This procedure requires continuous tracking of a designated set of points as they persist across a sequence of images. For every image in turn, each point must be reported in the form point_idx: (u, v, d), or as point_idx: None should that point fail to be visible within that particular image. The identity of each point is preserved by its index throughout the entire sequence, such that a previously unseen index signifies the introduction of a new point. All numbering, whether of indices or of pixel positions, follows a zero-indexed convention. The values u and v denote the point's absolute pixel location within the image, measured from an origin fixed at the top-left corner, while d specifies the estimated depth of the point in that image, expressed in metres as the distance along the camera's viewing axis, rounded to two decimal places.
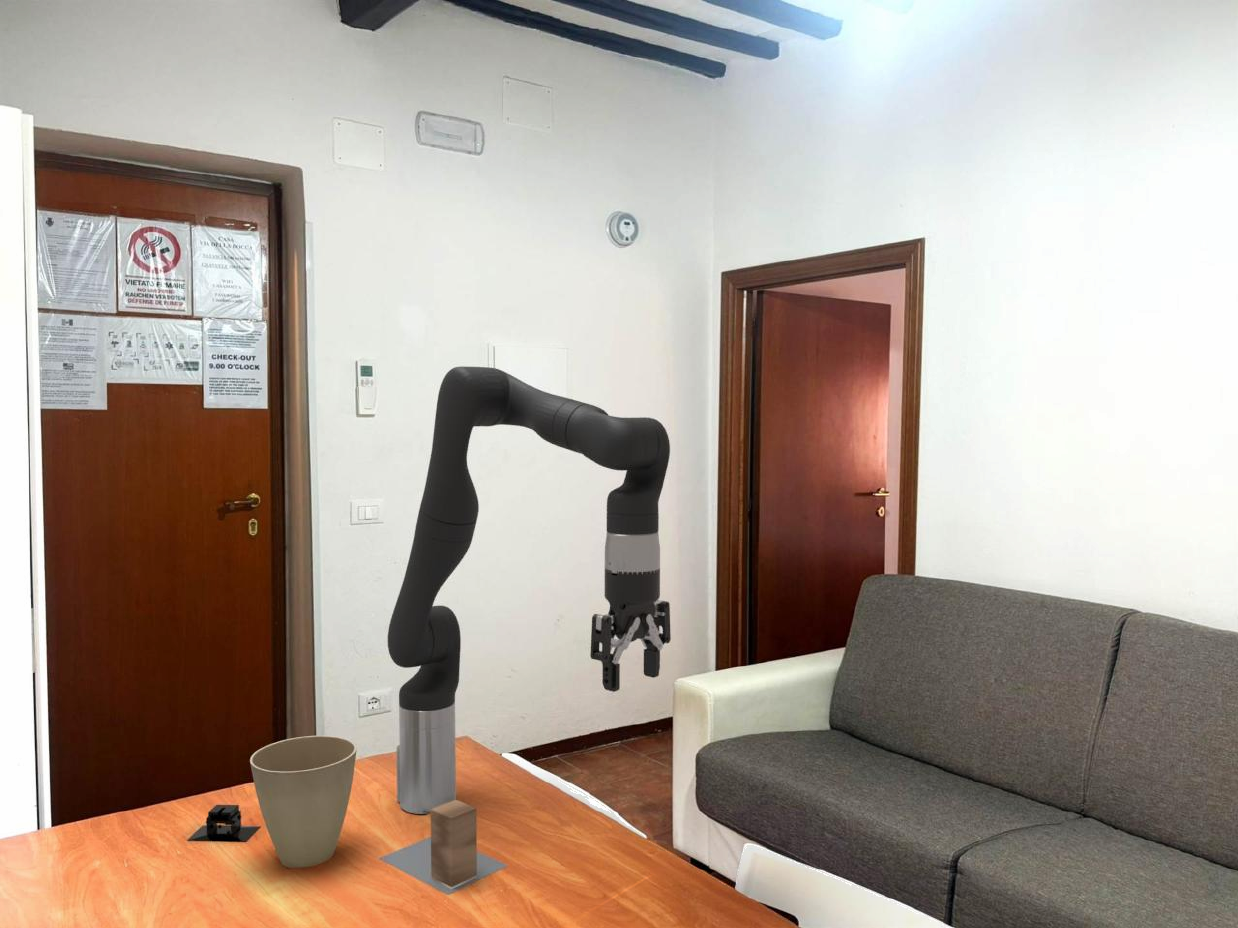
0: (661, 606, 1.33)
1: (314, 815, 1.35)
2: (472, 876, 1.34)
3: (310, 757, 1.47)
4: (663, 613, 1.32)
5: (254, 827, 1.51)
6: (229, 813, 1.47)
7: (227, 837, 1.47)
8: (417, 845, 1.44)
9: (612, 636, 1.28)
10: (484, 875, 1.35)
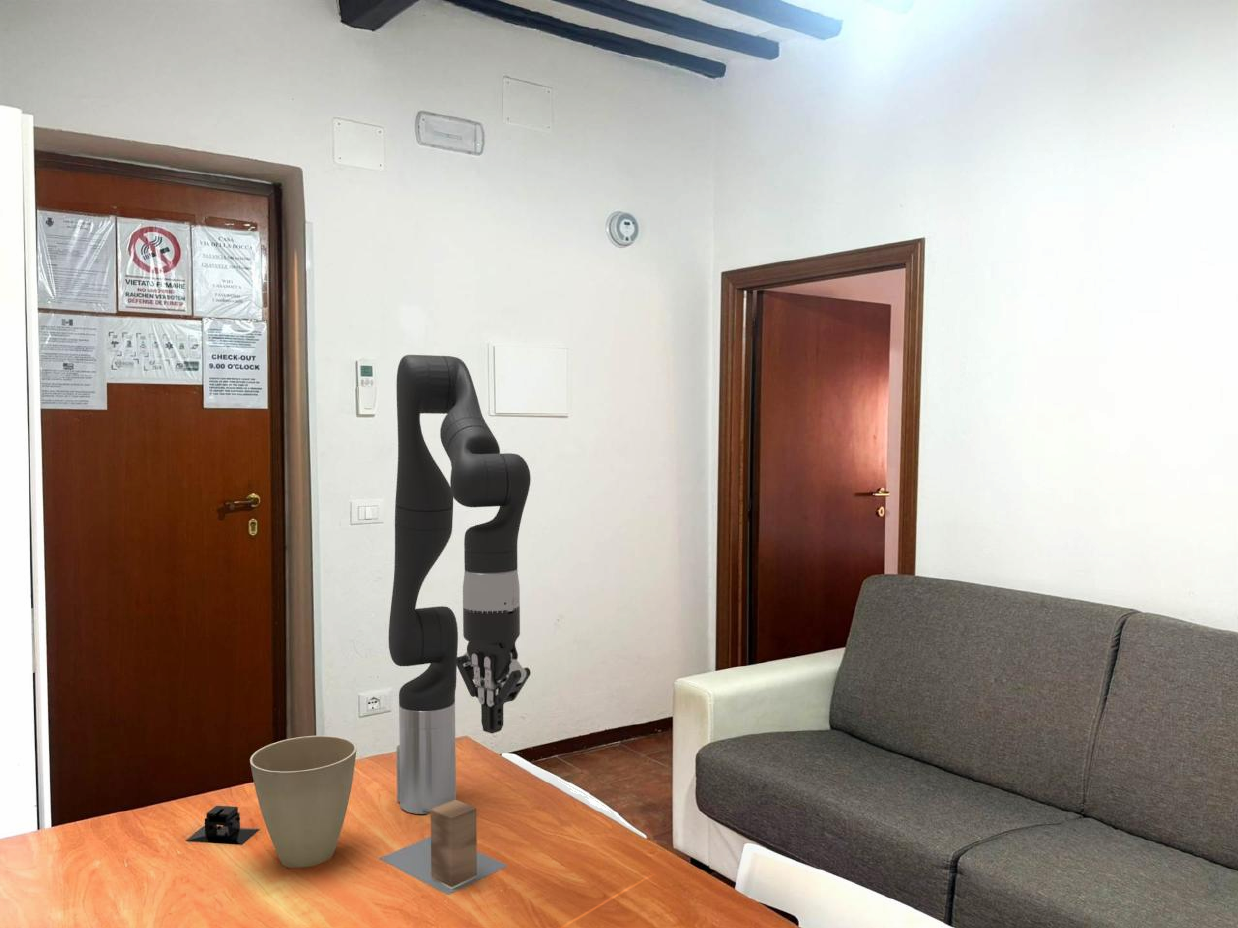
0: None
1: (314, 815, 1.35)
2: (472, 876, 1.34)
3: (310, 757, 1.47)
4: None
5: (253, 829, 1.50)
6: (226, 815, 1.47)
7: (224, 839, 1.46)
8: (417, 845, 1.44)
9: None
10: (484, 875, 1.35)
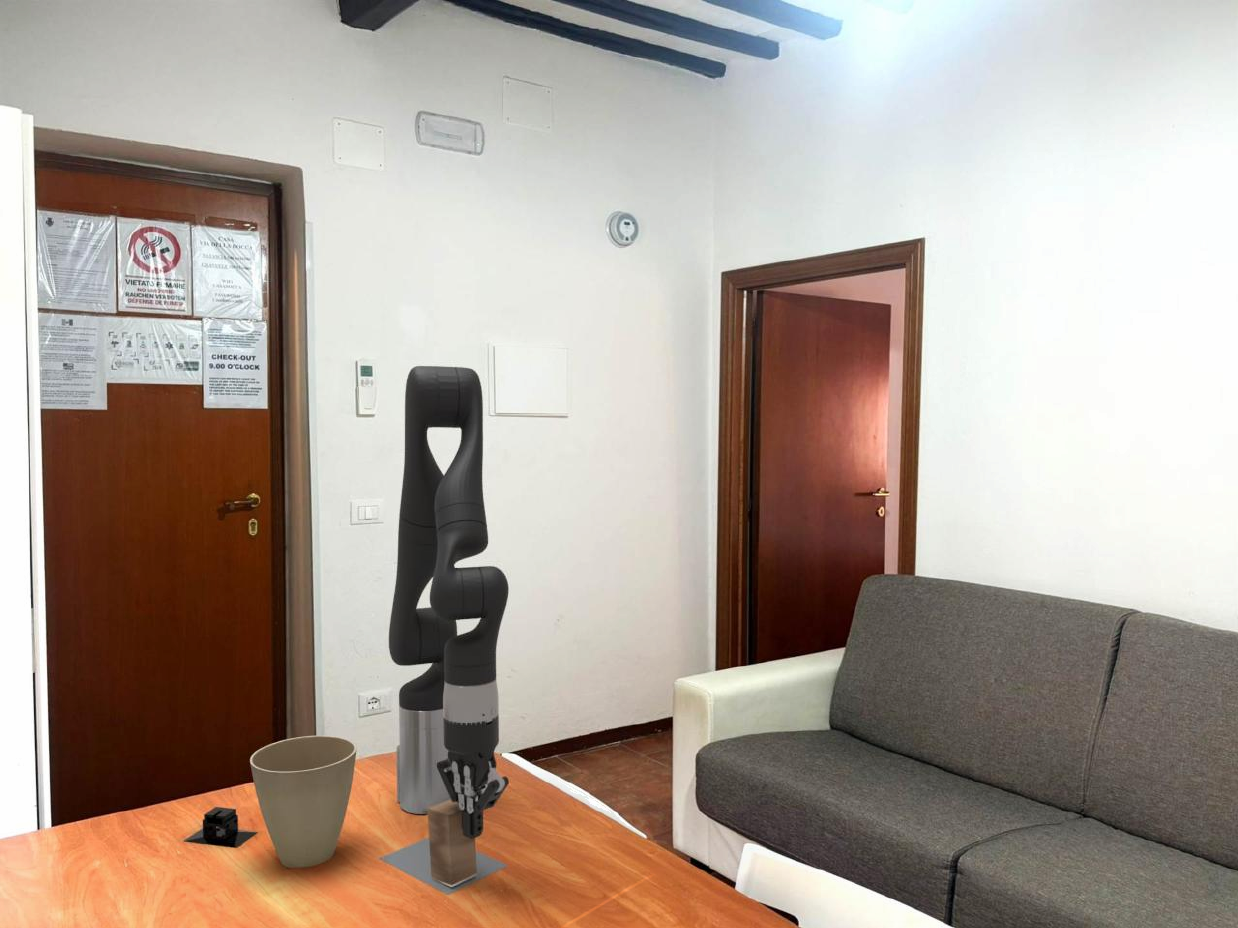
0: None
1: (314, 815, 1.35)
2: (472, 874, 1.34)
3: (310, 757, 1.47)
4: None
5: (251, 832, 1.49)
6: (223, 817, 1.46)
7: (221, 842, 1.46)
8: (417, 845, 1.44)
9: None
10: (484, 875, 1.35)
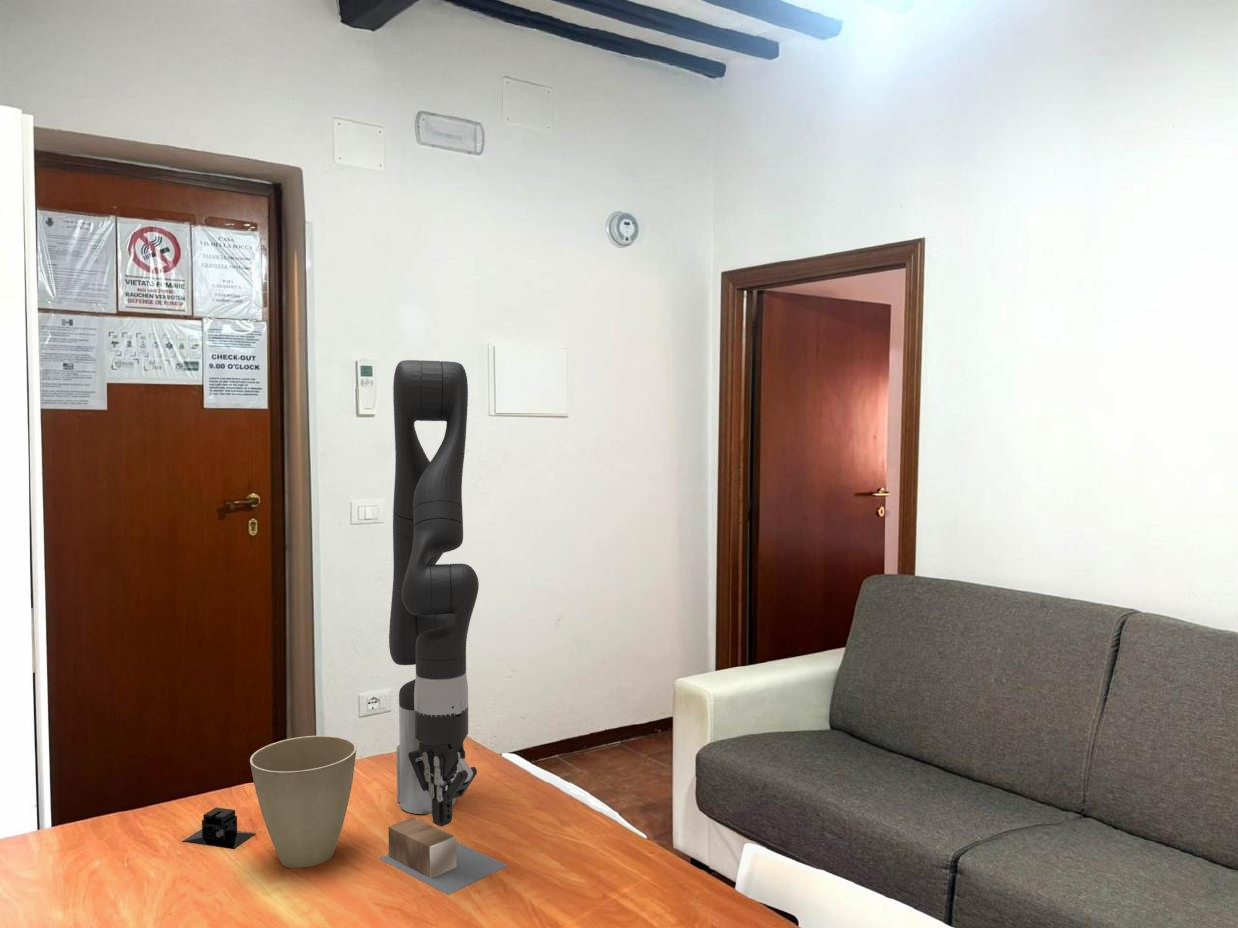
0: None
1: (314, 815, 1.35)
2: (449, 837, 1.37)
3: (310, 757, 1.47)
4: None
5: (250, 834, 1.49)
6: (222, 818, 1.46)
7: (219, 842, 1.45)
8: None
9: None
10: (484, 875, 1.35)
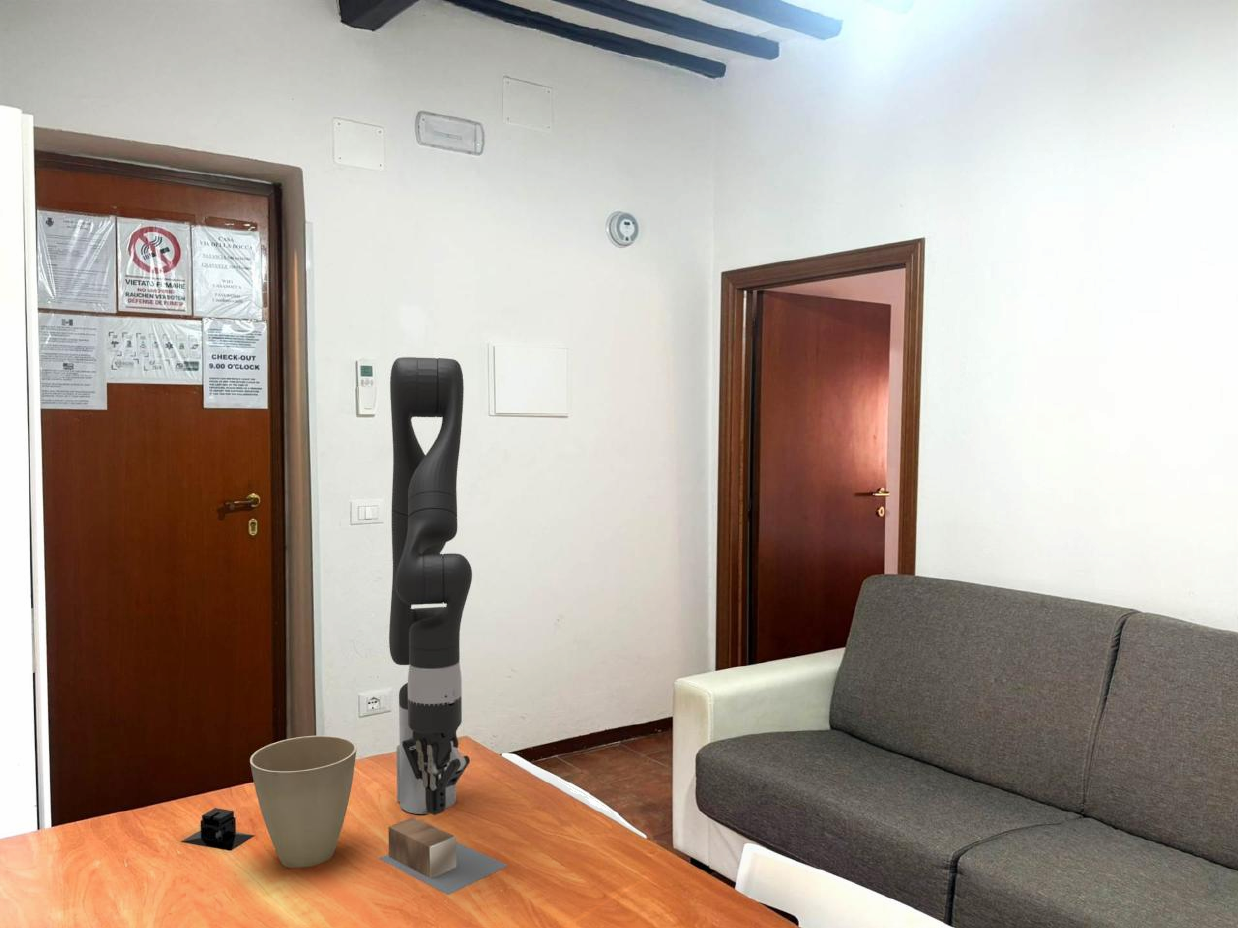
0: None
1: (314, 815, 1.35)
2: (449, 837, 1.37)
3: (310, 757, 1.47)
4: None
5: (248, 835, 1.48)
6: (219, 819, 1.45)
7: (217, 843, 1.45)
8: None
9: None
10: (484, 875, 1.35)
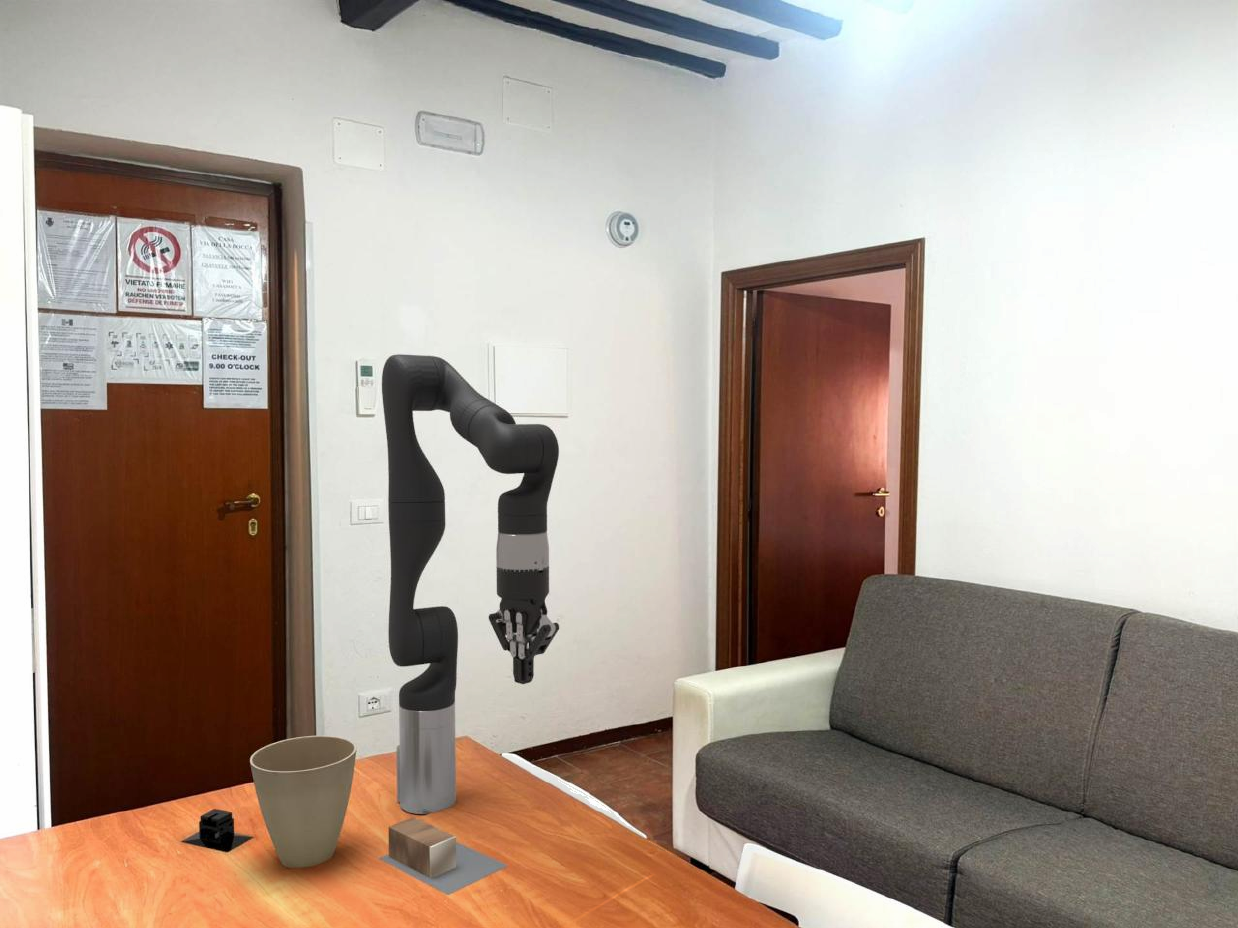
0: None
1: (314, 815, 1.35)
2: (449, 837, 1.37)
3: (310, 757, 1.47)
4: None
5: (247, 837, 1.48)
6: (217, 820, 1.45)
7: (214, 845, 1.45)
8: None
9: None
10: (484, 875, 1.35)
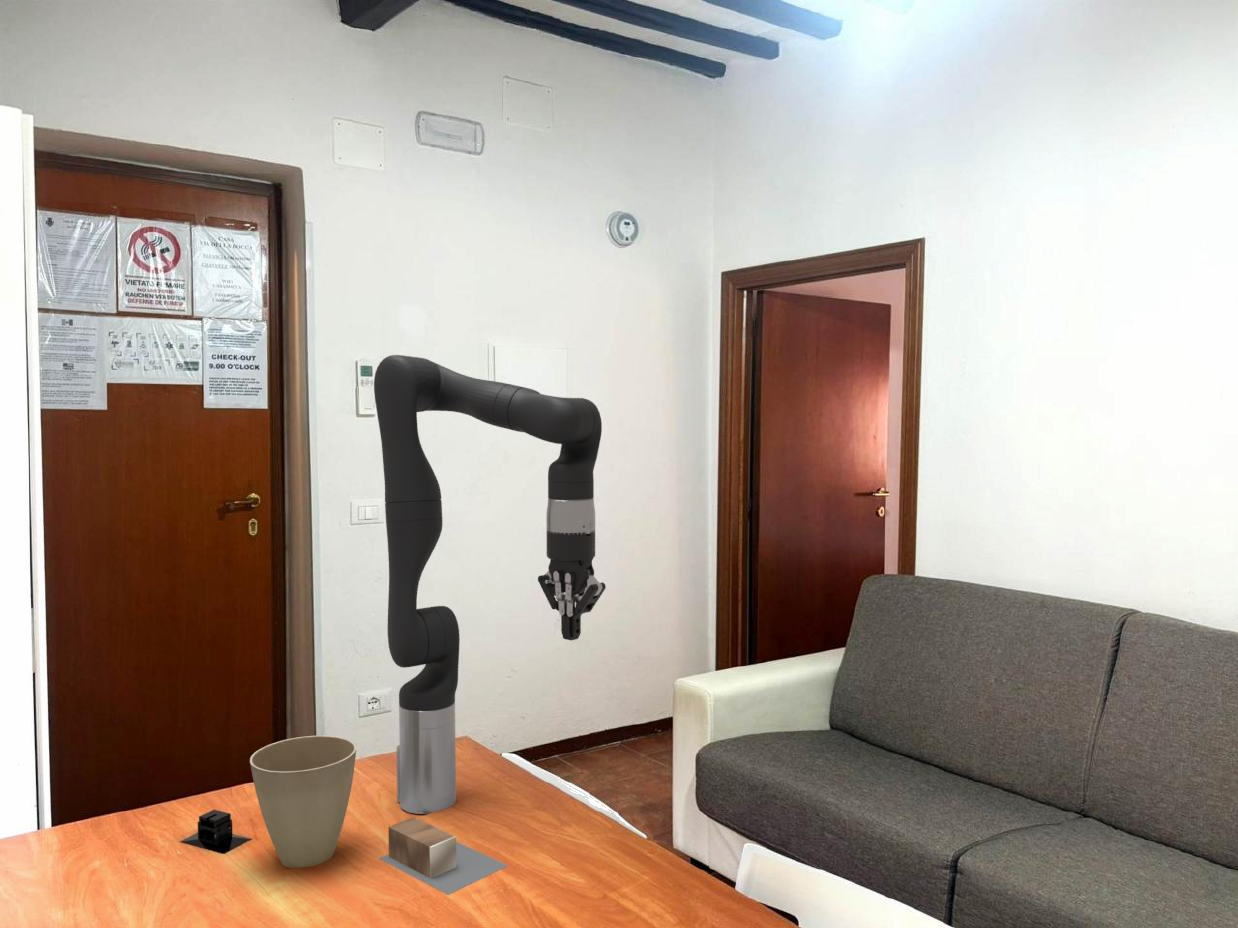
0: None
1: (314, 815, 1.35)
2: (449, 837, 1.37)
3: (310, 757, 1.47)
4: None
5: (245, 839, 1.47)
6: (214, 821, 1.44)
7: (211, 846, 1.44)
8: None
9: None
10: (484, 875, 1.35)
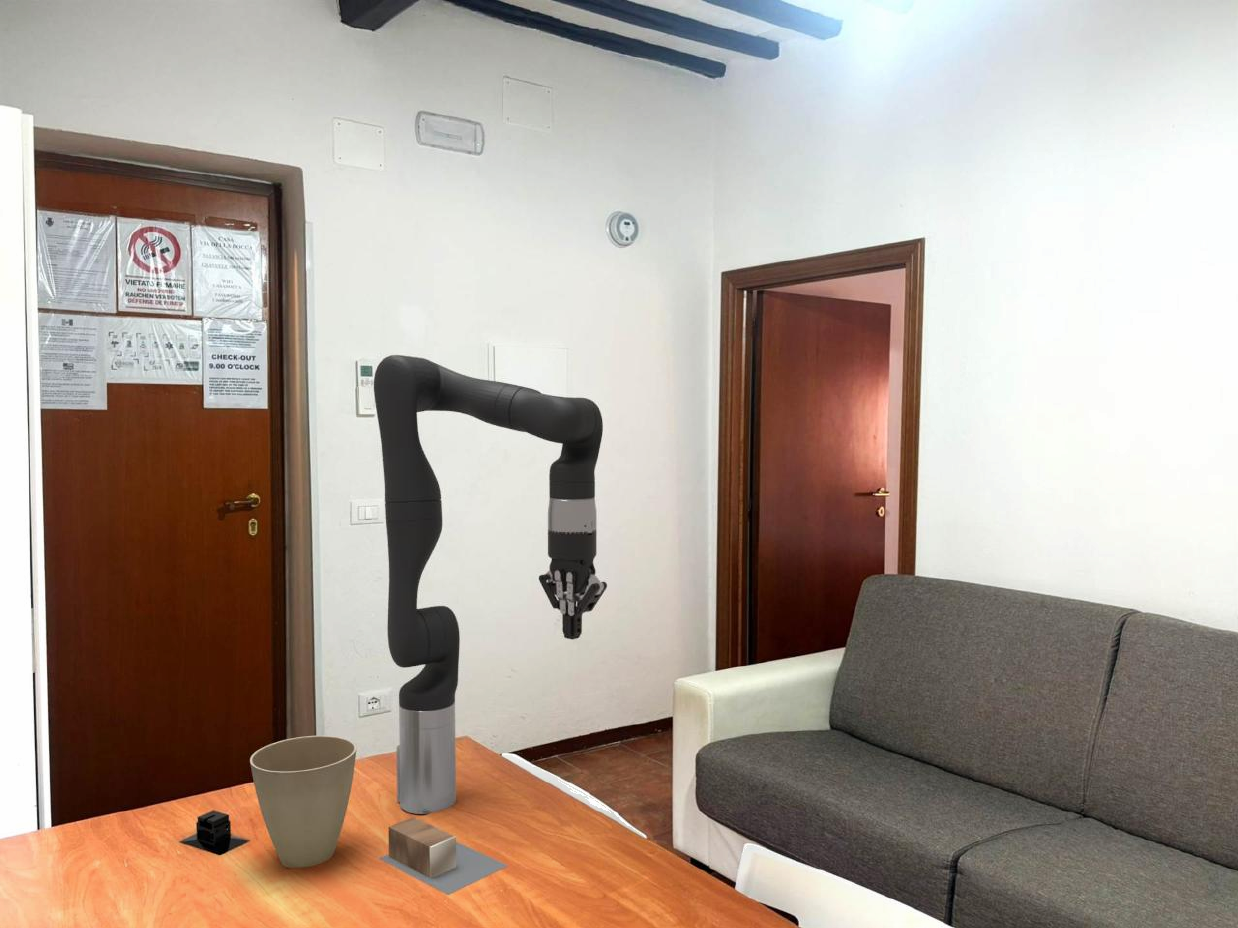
0: None
1: (314, 815, 1.35)
2: (449, 837, 1.37)
3: (310, 757, 1.47)
4: None
5: (243, 840, 1.46)
6: (212, 822, 1.44)
7: (209, 847, 1.44)
8: None
9: None
10: (484, 875, 1.35)
